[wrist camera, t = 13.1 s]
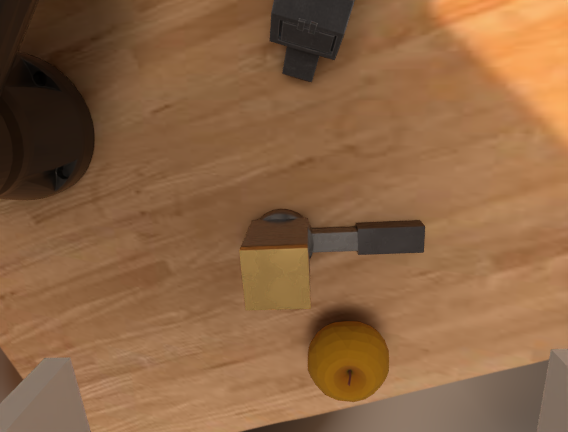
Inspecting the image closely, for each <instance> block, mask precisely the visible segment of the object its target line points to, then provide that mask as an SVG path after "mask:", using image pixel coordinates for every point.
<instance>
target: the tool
mask: <svg viewBox="0 0 568 432" xmlns="http://www.w3.org/2000/svg"><path fill="white" fill-rule="evenodd" d="M354 1H355V0H274V3H273V8H272V13H271V28H270V41H271V42H274V43H278V44H281V45H284V46H287V49H286V55H285V61H284V67H283V72H282V74H285V75H289V76H292V77H296V78H299V79H303V80H306V81H309V82H312V80H313V76H314V73H315V69H316V66H317V62H318V59H319V56H322V57H325V58H329V59H332V60H335V58H336V55H337V52H338V50H339V47H340V44H341V42H342V39H343V36H344V33H345V30H346V27H347V24H348V20H349V17H350V14H351V11H352V7H353V4H354Z"/></svg>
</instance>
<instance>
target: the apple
mask: <svg viewBox="0 0 568 432" xmlns="http://www.w3.org/2000/svg"><path fill="white" fill-rule="evenodd" d="M308 371H309V374H310V376H311V378H312V379H313V381H314V382H315V384H316V385H317V387H318V388H319V389H320V390H321V391H322V392H323V393H324V394H325V395H327V396H329V397H331V398H334V399H336V400H340V401H350V402H356V401H360V400H364V399H366V398H367V397H369V396H371V395H372V394H374V393H375V392H376V391H377V390H378V389H379V388H380V386H381V385H382V383H383V382H384V381H385V379H386V377H387V374H388V371H389V351H388V348H387V345H386V343H385V340H384V339H383V337H382V336H381V335H380V333H379V332H378V331H377V330H376V329H374V328H373V327H371V326H369V325H367V324H364V323H362V322H359V321H342V322H334V323H331V324H329V325H327V326H325V327H324V328H322V329H321V330H320V331H319V332H318V333H317V334H316V335H315V337H314V338H313V340H312V341H311V343H310V346H309V350H308Z"/></svg>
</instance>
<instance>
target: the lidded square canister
mask: <svg viewBox="0 0 568 432" xmlns="http://www.w3.org/2000/svg"><path fill="white" fill-rule="evenodd" d="M239 253H240V263H241V272H242V281H243V290H244V300H245V309H246V310H281V309H311V300H310V259H309V239H308V218H296V219H273V220H252V221H251V224H250V226H249V228H248V231H247V233H246V236H245V238H244V240H243V243H242V245H241V247H240V250H239Z"/></svg>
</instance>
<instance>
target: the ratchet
mask: <svg viewBox="0 0 568 432" xmlns="http://www.w3.org/2000/svg"><path fill="white" fill-rule="evenodd" d="M296 218H304V217H303V216H302V215H300V214H299V213H297V212H294V211H292V210H287V209H277V210H273V211H270V212H268V213H266V214H264V215H263V216H262V217H261V218H260V219H259V220H273V219H296ZM424 237H425V226H424V224H423V223H422V222H421V221H420V220H413V221H389V222H365V223H356V227H340V228H315V229H311V226H310V224H309V223H308V239H309V259H310V258H311V256H312V253H313V252H336V251H357V252H358V255H366V254H394V253H423V252H424Z"/></svg>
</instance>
